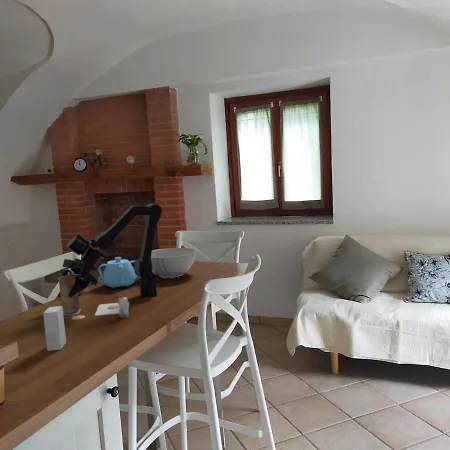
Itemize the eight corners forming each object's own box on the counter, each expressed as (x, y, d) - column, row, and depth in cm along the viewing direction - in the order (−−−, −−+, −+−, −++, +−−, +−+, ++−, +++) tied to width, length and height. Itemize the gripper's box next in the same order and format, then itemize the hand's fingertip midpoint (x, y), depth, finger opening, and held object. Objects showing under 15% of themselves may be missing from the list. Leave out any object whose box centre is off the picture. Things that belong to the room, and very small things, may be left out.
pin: (128, 314, 166) (127, 296, 165) (128, 317, 162) (127, 298, 162) (120, 315, 165) (118, 297, 164) (119, 318, 162) (118, 299, 161)
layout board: (129, 302, 182) (129, 301, 182) (127, 315, 166) (127, 313, 165) (64, 308, 178) (64, 307, 178) (55, 322, 162) (55, 320, 162)
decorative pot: (95, 288, 209) (92, 259, 208) (119, 280, 223) (117, 253, 221) (120, 291, 201) (118, 261, 199) (144, 282, 215) (142, 255, 213)
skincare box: (52, 343, 140) (48, 306, 139) (66, 342, 140) (62, 305, 139) (46, 351, 134) (42, 312, 133) (61, 350, 134) (57, 311, 133)
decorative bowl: (146, 284, 211) (145, 259, 209) (143, 273, 237) (141, 250, 235) (202, 278, 217) (200, 254, 215) (193, 268, 243) (191, 246, 241)
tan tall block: (73, 308, 176) (69, 274, 174) (80, 310, 173) (76, 276, 171) (61, 312, 172) (57, 277, 170) (69, 314, 169) (64, 279, 167)
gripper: (60, 249, 178) (37, 282, 171) (88, 252, 167) (65, 287, 160) (79, 264, 185) (58, 296, 178) (107, 268, 174) (86, 303, 167)
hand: (66, 295), depth 170 cm, fingers closed on tan tall block, 4 cm apart
